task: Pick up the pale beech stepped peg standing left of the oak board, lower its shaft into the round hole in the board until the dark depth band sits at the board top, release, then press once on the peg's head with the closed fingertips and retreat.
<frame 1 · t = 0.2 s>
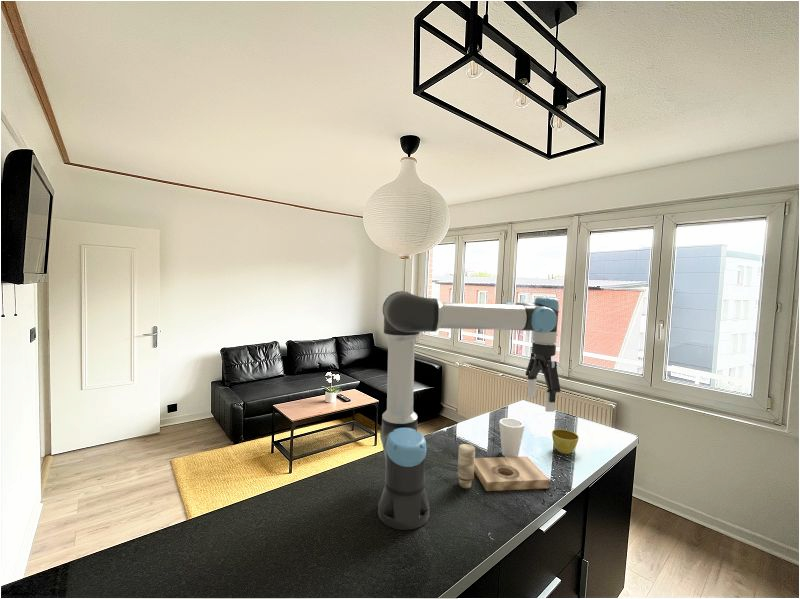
hand: (540, 404, 127), 28 cm above the worktop, fingers open, 13 cm apart
board: (507, 476, 131), on the worktop
peg: (465, 484, 125), on the worktop
yellow bowl: (564, 451, 152), on the worktop
foam cup: (509, 454, 148), on the worktop
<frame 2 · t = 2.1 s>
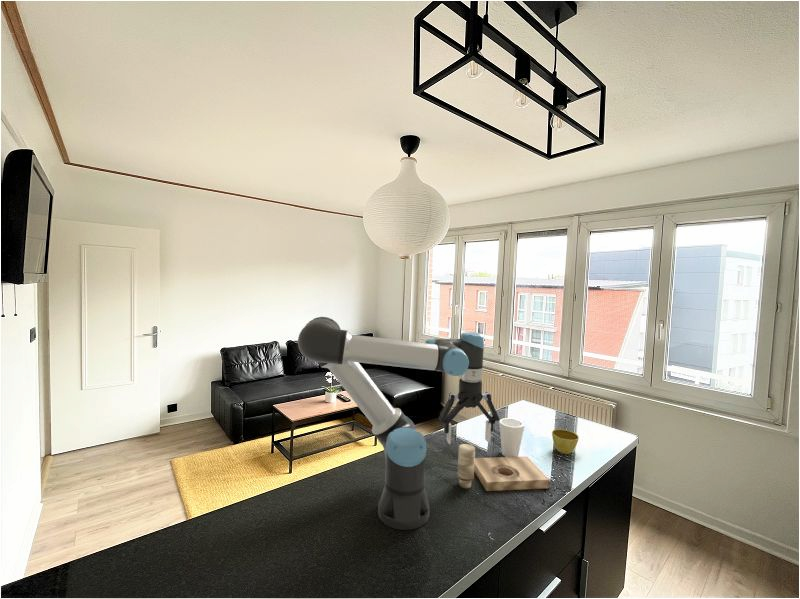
hand: (468, 441, 124), 15 cm above the worktop, fingers open, 13 cm apart
nothing on the worktop moved.
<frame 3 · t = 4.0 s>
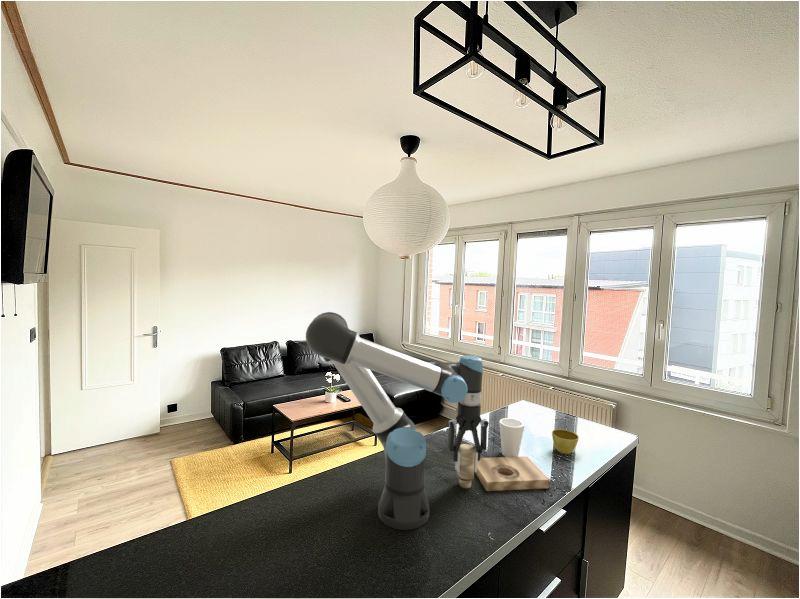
hand: (465, 469, 125), 5 cm above the worktop, fingers closed on peg, 5 cm apart
peg: (465, 484, 125), on the worktop, touching gripper
everything else where it was.
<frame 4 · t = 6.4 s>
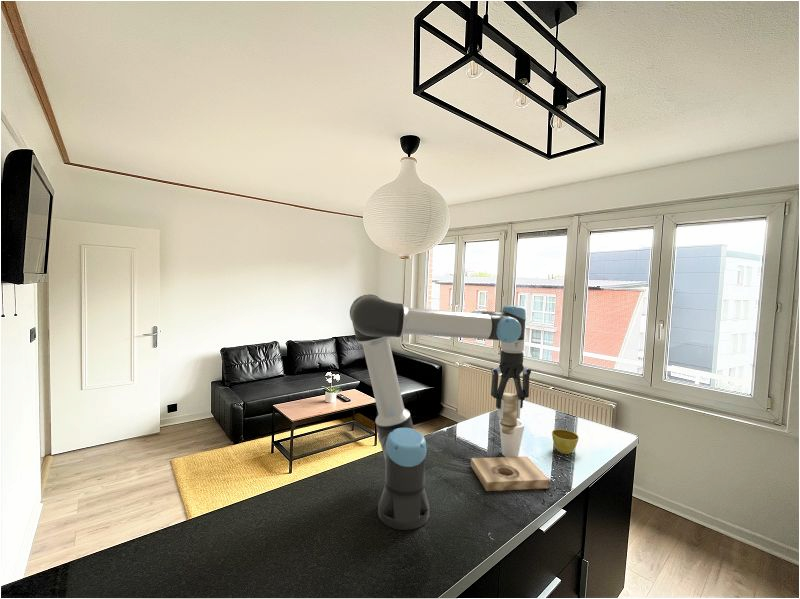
hand: (508, 417, 128), 22 cm above the worktop, fingers closed on peg, 5 cm apart
peg: (507, 432, 128), point 17 cm above the worktop, touching gripper
everything else where it was.
when the fingers open (6 cm above the worktop, at t = 8.8 s): peg stays where it is, resting on board.
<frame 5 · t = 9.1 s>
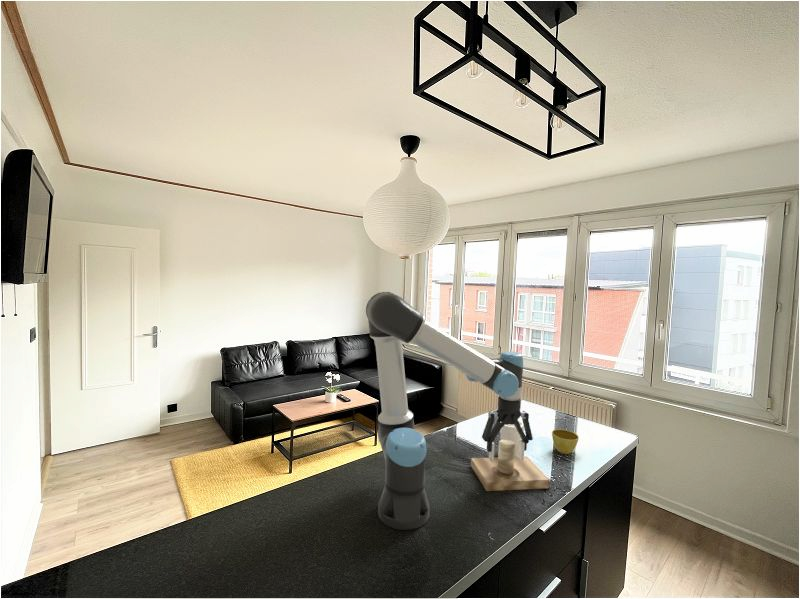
hand: (506, 459, 129), 7 cm above the worktop, fingers open, 10 cm apart
peg: (504, 479, 129), resting on board
everything else where it was.
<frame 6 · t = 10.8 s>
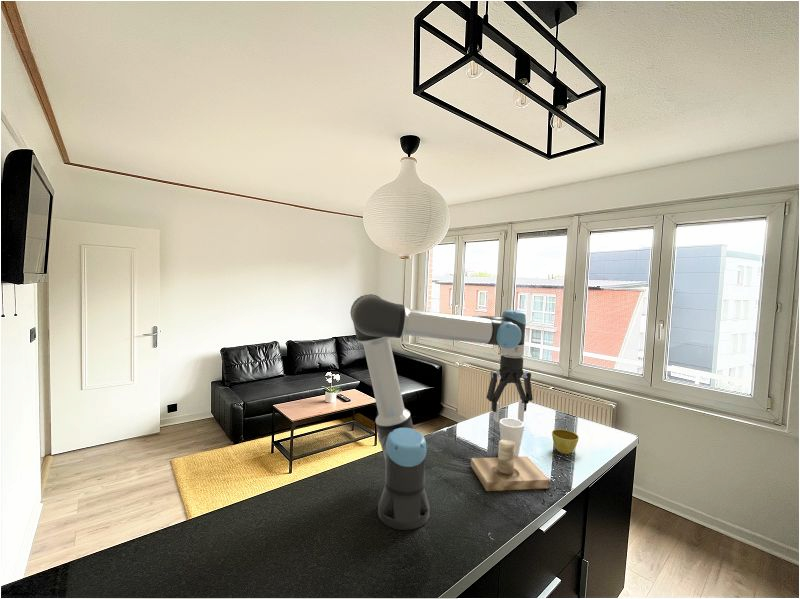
hand: (508, 420, 128), 21 cm above the worktop, fingers open, 8 cm apart
nothing on the worktop moved.
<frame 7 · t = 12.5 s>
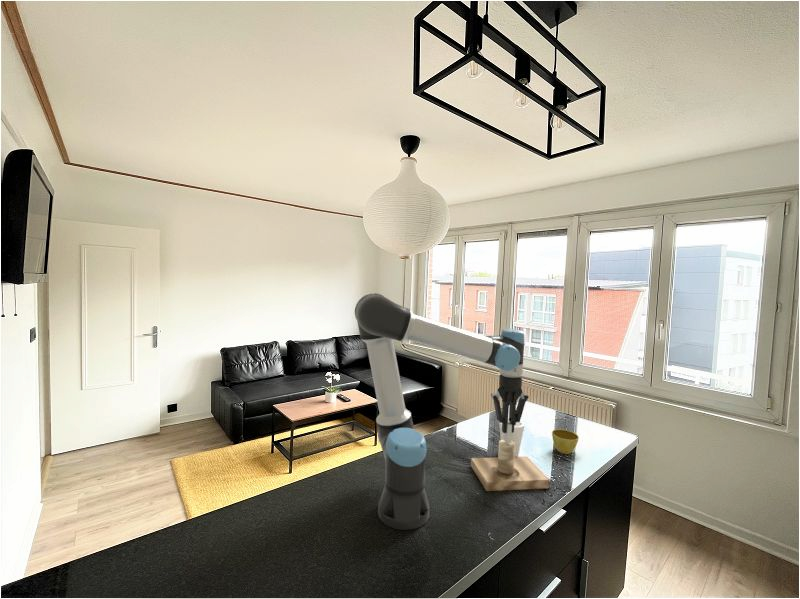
hand: (507, 441, 128), 14 cm above the worktop, fingers closed
nothing on the worktop moved.
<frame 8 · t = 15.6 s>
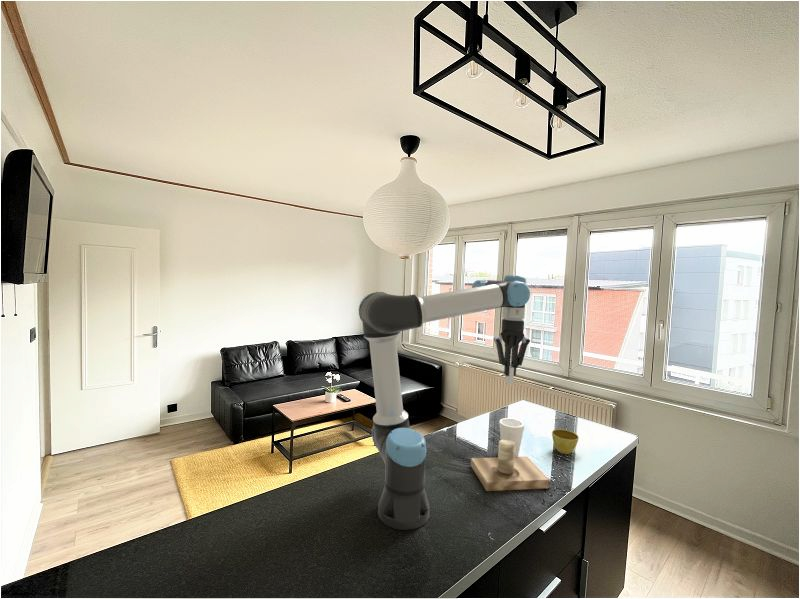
hand: (509, 384, 132), 32 cm above the worktop, fingers closed
nothing on the worktop moved.
at the end: peg 0.1 cm from the target spot in the board, point 0.3 cm above the board's base; peg tilted 0°; the gripper is holding nothing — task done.
